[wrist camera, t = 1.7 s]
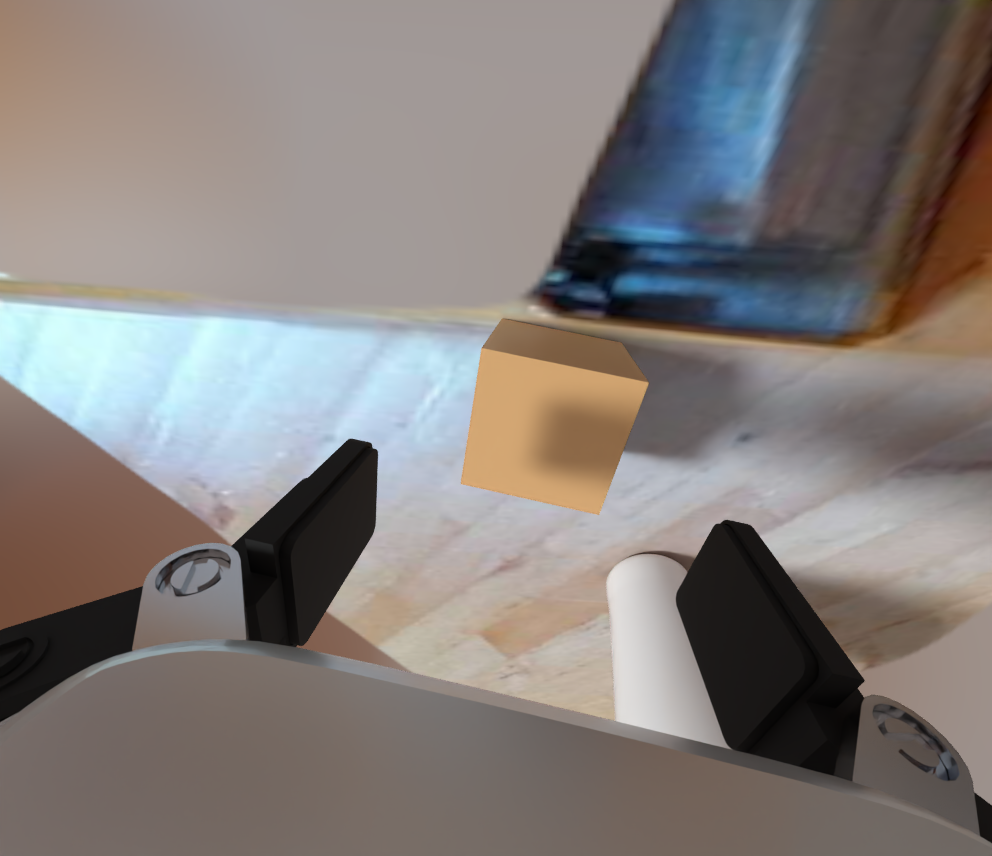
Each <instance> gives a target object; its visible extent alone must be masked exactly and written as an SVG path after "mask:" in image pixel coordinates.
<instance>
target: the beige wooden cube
mask: <svg viewBox="0 0 992 856" xmlns="http://www.w3.org/2000/svg"><path fill="white" fill-rule="evenodd" d="M648 384H649V382H648V380H647V379H646V377H645V376H644V374H643V373H642V372H641V370H640V369H639V367H638V366H637V364H636V363H635V361H634V360H633V359H632V357H631V356H630V354H629V353H628V351H627V350H626V349H625V347H624V346H623V344H622V343H621V342H616V341H611V340H606V339H601V338H596V337H591V336H586V335H581V334H576V333H571V332H566V331H561V330H556V329H551V328H546V327H541V326H537V325H532V324H527V323H522V322H517V321H512V320H507V319H502V320H501V321H500V322H499V324H498V325H497V327H496V328H495V330H494V331H493V332H492V334H491V335H490V337H489V338H488V340H487V341H486V343H485V344H484V345H483V347H482V349H481V355H480V362H479V368H478V375H477V381H476V388H475V394H474V401H473V407H472V414H471V420H470V427H469V433H468V440H467V446H466V453H465V459H464V466H463V472H462V478H461V484H463V485H468V486H472V487H477V488H481V489H486V490H490V491H495V492H499V493H504V494H508V495H512V496H517V497H521V498H526V499H530V500H535V501H539V502H544V503H548V504H553V505H557V506H561V507H566V508H570V509H575V510H579V511H584V512H588V513H593V514H597V515H599V513H600V511H601V508H602V505H603V503H604V500H605V498H606V495H607V492H608V490H609V487H610V484H611V482H612V479H613V476H614V474H615V471H616V469H617V466H618V463H619V461H620V458H621V455H622V453H623V450H624V448H625V445H626V442H627V440H628V437H629V434H630V432H631V429H632V426H633V424H634V421H635V419H636V416H637V413H638V411H639V408H640V405H641V403H642V400H643V397H644V395H645V392H646V390H647V387H648Z"/></svg>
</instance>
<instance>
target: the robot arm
mask: <svg viewBox="0 0 992 856" xmlns="http://www.w3.org/2000/svg"><path fill="white" fill-rule="evenodd" d="M377 467H378V451H377V450H376V449H373V448H372V444H371V443H370V442H365V441H360V440H356V439H349V440H347V441H346V442H345V443H344V444H343V445H342V446H341V447H340V448H339V449H338V450H337V451H336V452H335V453H333V454H332V455H331V456H330V457H329V458H328V459H327V460H326V461H325V462H324V463H323V464H322V465H321V466H320V467H319V468H318V469H317V470H316V471H315V472H314V473H313V474H311V475H310V476H309V477H308V478H305V479H303V480H302V481H300V482H299V483H298V484H297V485H296V486H295V487H294V488H293V489H292V490H291V491H290V492H288V493H287V494H286V495H285V496H284V497H283V498H282V499H281V500H280V501H279V502H278V503H277V504H276V505H275V506H274V507H273V508H271V509H270V510H269V511H268V512H267V513H266V514H265V515H264V516H263V517H262V518H261V519H260V520H259V521H258V522H257V523H255V524H254V525H253V526H252V527H251V528H250V529H249V530H248V531H247V532H246V533H245V534H244V535H243V536H242V537H241V538H239V539H238V540H237V541H236V542H235V543H234V544H233V545H232V546H228V545H224V544H217V543H207V544H200V545H195V546H191V547H188V548H185V549H182V550H180V551H178V552H176V553H174V554H172V555H170V556H168V557H167V558H165V559H164V560H162V561H161V562H160V563H158V564H157V565H156V566H155V567H154V568H153V569H152V570H151V571H150V573H149V574H148V575H147V577H146V580H145V582H144V585H143V586H142V587H139V588H136V589H133V590H129V591H126V592H123V593H119V594H116V595H112V596H110V597H106V598H103V599H99V600H96V601H93V602H90V603H86V604H83V605H80V606H76V607H74V608H70V609H67V610H64V611H60V612H57V613H54V614H50V615H47V616H44V617H41V618H37V619H34V620H31V621H27V622H24V623H21V624H18V625H15V626H11V627H8V628H5V629H2V630H0V856H992V805H990V804H989V803H987V802H986V801H985V800H984V799H982V798H981V797H980V796H978V795H977V794H976V793H974V788H973V781H972V778H971V775H970V773H969V770H968V767H967V766H966V764H965V762H964V761H963V759H962V758H961V756H960V755H959V753H958V752H957V751H956V750H955V749H954V748H953V746H952V745H951V744H950V743H949V742H948V740H947V739H946V738H945V737H944V736H943V735H942V734H941V733H939V732H938V731H937V730H936V729H935V728H934V727H933V726H932V725H931V724H930V723H929V722H927V721H926V720H925V719H923V718H922V717H921V716H919V715H918V714H916V713H915V712H914V711H912V710H911V709H909V708H907V707H905V706H904V705H902V704H900V703H898V702H896V701H894V700H891V699H889V698H887V697H884V696H878V695H870V696H867V697H865V698H864V697H863V695H862V694H861V693H860V691H859V690H858V687H859V686H860V685H861V684H862V683H863V682H864V679H863V677H862V676H861V675H860V673H859V672H858V670H857V669H856V668H855V666H854V665H853V664H852V662H851V661H850V660H849V658H848V657H847V655H846V654H845V653H844V651H843V650H842V649H841V647H840V646H839V644H838V643H837V642H836V640H835V639H834V638H833V636H832V635H831V634H830V632H829V631H828V629H827V628H826V627H825V625H824V624H823V623H822V621H821V620H820V618H819V617H818V616H817V614H816V613H815V612H814V610H813V609H812V608H811V606H810V605H809V603H808V602H807V601H806V599H805V598H804V597H803V595H802V594H801V592H800V591H799V590H798V588H797V587H796V586H795V584H794V583H793V582H792V580H791V579H790V577H789V576H788V575H787V573H786V572H785V571H784V569H783V568H782V566H781V565H780V564H779V562H778V561H777V560H776V558H775V557H774V556H773V554H772V553H771V551H770V550H769V549H768V547H767V546H766V545H765V543H764V542H763V541H762V539H761V538H760V536H759V535H758V534H757V532H756V531H755V530H754V528H753V527H752V526H751V525H748V524H744V523H739V522H735V521H730V520H724V521H723V522H721V524H716V525H715V526H714V527H713V528H712V530H711V532H710V534H709V536H708V537H707V539H706V541H705V543H704V544H703V546H702V548H701V550H700V552H699V553H698V555H697V557H696V559H695V560H694V562H693V564H692V566H691V568H690V569H689V571H688V573H687V575H686V576H685V578H684V580H683V582H682V584H681V585H680V587H679V589H678V591H677V593H676V605H677V609H678V611H679V614H680V617H681V620H682V623H683V625H684V628H685V631H686V634H687V637H688V639H689V642H690V645H691V648H692V651H693V653H694V656H695V659H696V662H697V665H698V667H699V670H700V673H701V676H702V679H703V681H704V684H705V687H706V690H707V693H708V695H709V698H710V701H711V704H712V707H713V709H714V712H715V715H716V718H717V721H718V723H719V726H720V729H721V732H722V735H723V737H724V740H725V742H726V744H727V745H728V747H730V748H731V749H727V748H723V747H719V746H715V745H711V744H707V743H703V742H699V741H695V740H691V739H687V738H683V737H679V736H674V735H670V734H666V733H662V732H658V731H654V730H650V729H646V728H642V727H638V726H634V725H630V724H625V723H621V722H617V721H613V720H609V719H605V718H601V717H596V716H592V715H588V714H584V713H580V712H576V711H571V710H567V709H563V708H559V707H555V706H551V705H546V704H542V703H538V702H534V701H530V700H525V699H521V698H517V697H513V696H509V695H504V694H500V693H496V692H492V691H488V690H483V689H479V688H475V687H471V686H466V685H462V684H458V683H453V682H449V681H445V680H441V679H436V678H432V677H428V676H423V675H419V674H415V673H411V672H406V671H402V670H397V669H393V668H389V667H385V666H380V665H376V664H372V663H367V662H363V661H358V660H353V659H349V658H344V657H339V656H335V655H330V654H325V653H321V652H315V651H311V650H307V649H302V648H297V647H296V646H297V645H299V646H303V645H304V644H305V643H306V642H307V641H308V639H309V638H310V636H311V634H312V633H313V631H314V630H315V628H316V626H317V624H318V623H319V621H320V620H321V618H322V617H323V615H324V613H325V612H326V610H327V608H328V607H329V605H330V604H331V602H332V600H333V599H334V597H335V595H336V594H337V592H338V591H339V589H340V587H341V586H342V584H343V582H344V581H345V579H346V577H347V576H348V574H349V573H350V571H351V569H352V568H353V566H354V564H355V563H356V561H357V560H358V558H359V556H360V555H361V553H362V551H363V550H364V548H365V547H366V545H367V543H368V542H369V540H370V538H371V537H372V535H373V532H374V529H375V524H376V497H377ZM732 749H733V750H732Z"/></svg>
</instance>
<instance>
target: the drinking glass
mask: <svg viewBox="0 0 992 856" xmlns="http://www.w3.org/2000/svg"><path fill="white" fill-rule="evenodd" d="M687 573H688V572H687V570H686V569H685V568H684V567H683V566H682V565H681V564H679V563H678V562H676V561H675V560H673V559H671V558H668V557H666V556H662V555H657V554H639V555H634V556H631V557H628V558H626V559H624V560H622V561H621V562H619V563H618V564H616V565H615V566H614V567H613V569H612V570H611V571H610V573H609V575H608V577H607V581H606V594H607V601H608V608H609V619H610V635H611V653H612V671H613V690H614V710H615V721H617V722H621V723H625V724H630V725H634V726H638V727H642V728H646V729H650V730H654V731H658V732H662V733H666V734H670V735H674V736H679V737H683V738H687V739H691V740H695V741H699V742H703V743H707V744H711V745H715V746H719V747H723V748H727V749H731V748H730V747H728V745H727V744H726V742H725V740H724V737H723V735H722V732H721V729H720V726H719V723H718V721H717V718H716V715H715V712H714V709H713V707H712V704H711V701H710V698H709V695H708V693H707V690H706V687H705V684H704V681H703V679H702V676H701V673H700V670H699V667H698V665H697V662H696V659H695V656H694V653H693V651H692V648H691V645H690V642H689V639H688V637H687V634H686V631H685V628H684V625H683V623H682V620H681V617H680V614H679V611H678V609H677V605H676V593H677V591H678V589H679V587H680V585H681V584H682V582H683V580H684V578H685V576H686V575H687ZM732 750H733V749H732Z"/></svg>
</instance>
